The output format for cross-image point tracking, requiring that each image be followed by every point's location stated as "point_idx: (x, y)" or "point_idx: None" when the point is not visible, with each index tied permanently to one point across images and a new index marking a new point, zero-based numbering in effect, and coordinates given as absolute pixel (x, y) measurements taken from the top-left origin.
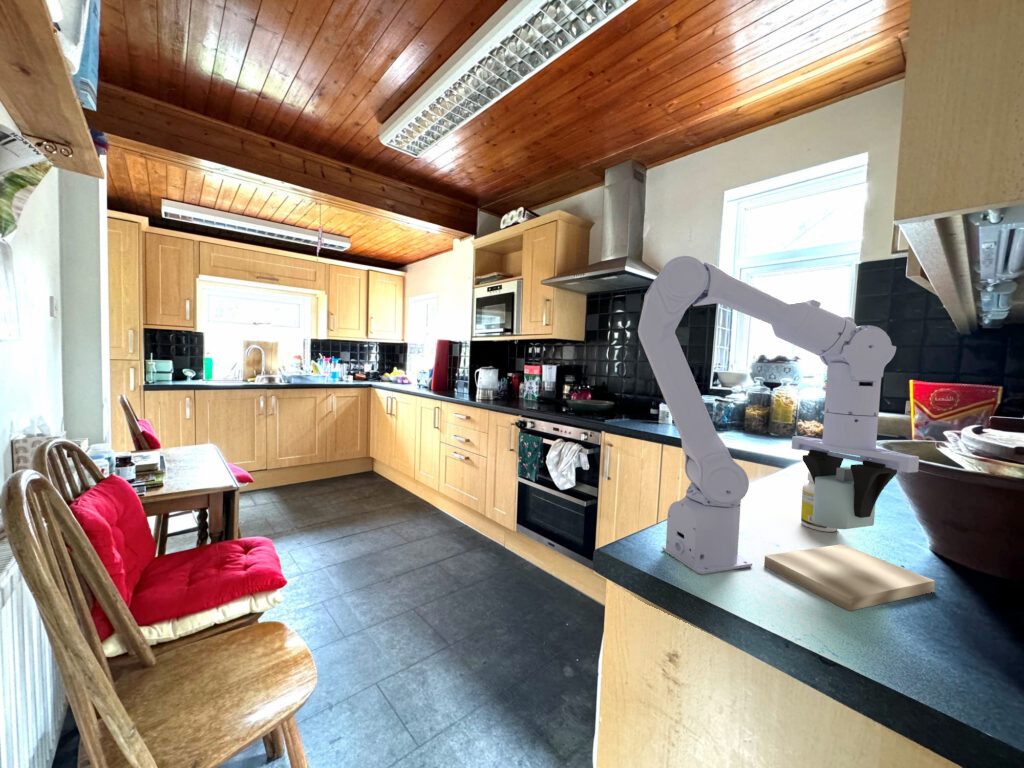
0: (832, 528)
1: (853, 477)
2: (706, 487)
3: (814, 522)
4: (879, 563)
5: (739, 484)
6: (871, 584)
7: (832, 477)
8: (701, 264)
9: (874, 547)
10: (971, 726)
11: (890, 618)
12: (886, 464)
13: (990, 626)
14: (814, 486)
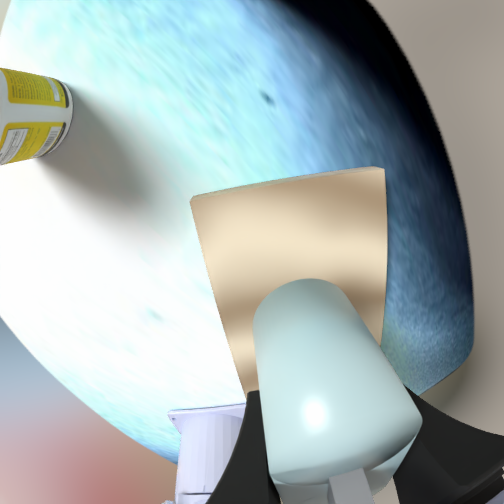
0: (69, 108)
1: (400, 500)
2: None
3: (48, 148)
4: (304, 212)
5: None
6: (365, 314)
7: (307, 499)
8: None
9: (162, 65)
10: (460, 365)
11: (396, 322)
12: (492, 496)
13: (444, 200)
14: None
